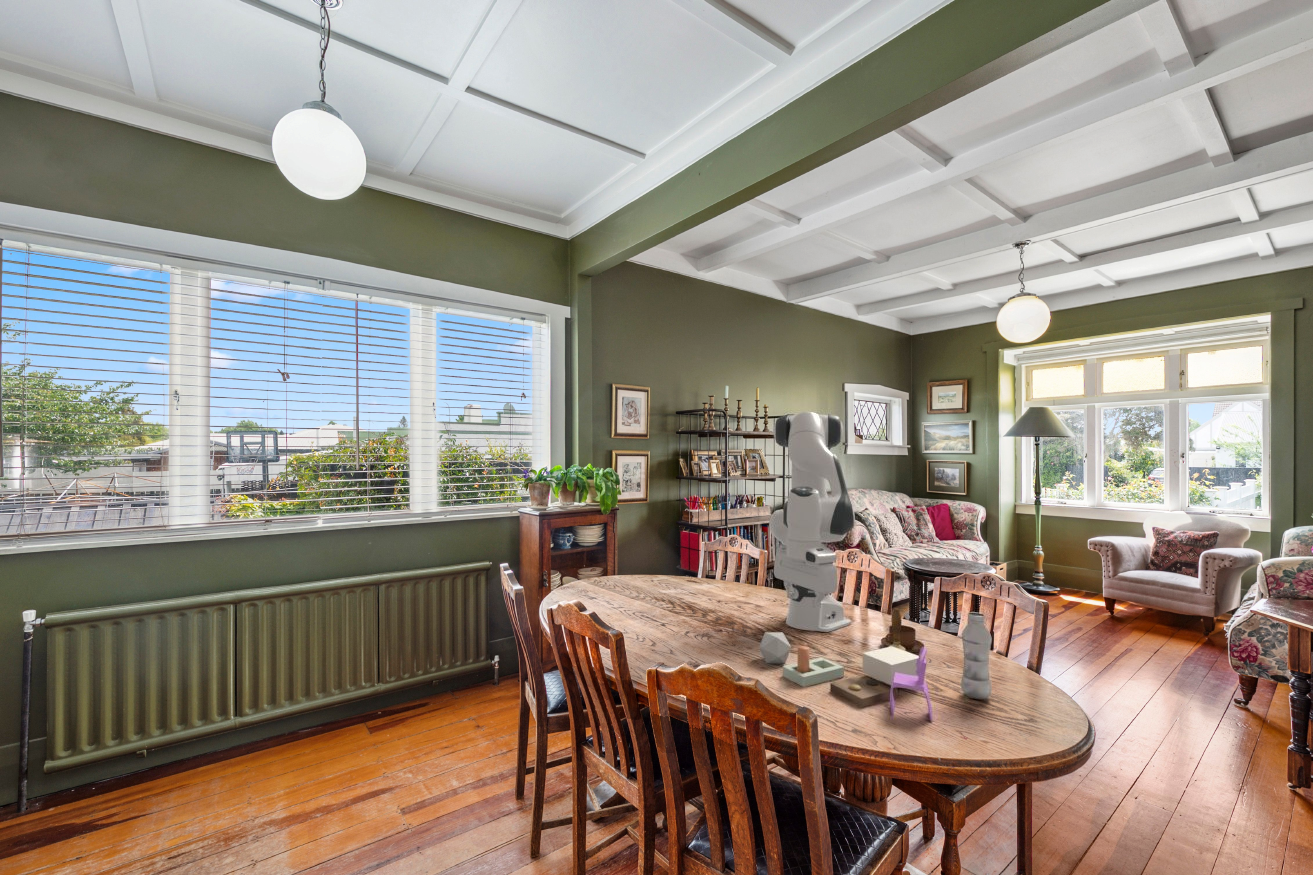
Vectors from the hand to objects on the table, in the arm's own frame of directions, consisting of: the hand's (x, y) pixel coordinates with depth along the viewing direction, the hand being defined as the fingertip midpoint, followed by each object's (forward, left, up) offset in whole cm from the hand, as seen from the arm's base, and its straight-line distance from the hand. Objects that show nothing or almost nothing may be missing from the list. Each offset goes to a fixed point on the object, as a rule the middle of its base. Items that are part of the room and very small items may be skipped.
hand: (803, 602), depth 153 cm
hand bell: (-28, +6, -20) cm, 35 cm away
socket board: (-3, 0, -20) cm, 20 cm away
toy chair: (-8, +26, -20) cm, 34 cm away
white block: (-16, +14, -17) cm, 28 cm away
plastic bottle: (-29, +28, -20) cm, 45 cm away
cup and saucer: (-42, -3, -20) cm, 47 cm away
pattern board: (-6, +14, -20) cm, 25 cm away
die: (-1, -13, -20) cm, 24 cm away
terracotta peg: (0, 0, -20) cm, 20 cm away
